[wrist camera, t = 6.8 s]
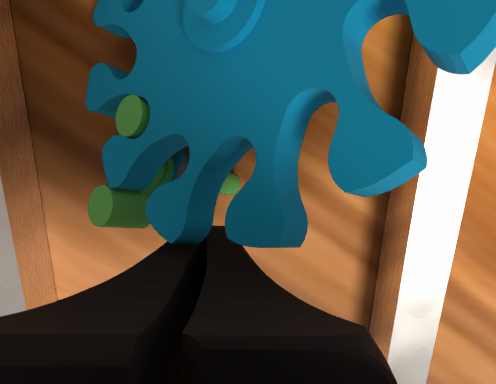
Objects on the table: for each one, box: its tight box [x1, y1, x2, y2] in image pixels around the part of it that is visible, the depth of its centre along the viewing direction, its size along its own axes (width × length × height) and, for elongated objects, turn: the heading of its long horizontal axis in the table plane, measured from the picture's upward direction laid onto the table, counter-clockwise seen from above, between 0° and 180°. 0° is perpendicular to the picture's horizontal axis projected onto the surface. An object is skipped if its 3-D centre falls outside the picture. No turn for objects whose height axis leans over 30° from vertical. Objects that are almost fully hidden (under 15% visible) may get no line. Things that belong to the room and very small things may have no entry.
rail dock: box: [0, 0, 496, 384], centre depth 11 cm, size 16×20×4 cm
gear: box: [86, 0, 496, 248], centre depth 10 cm, size 11×6×10 cm
